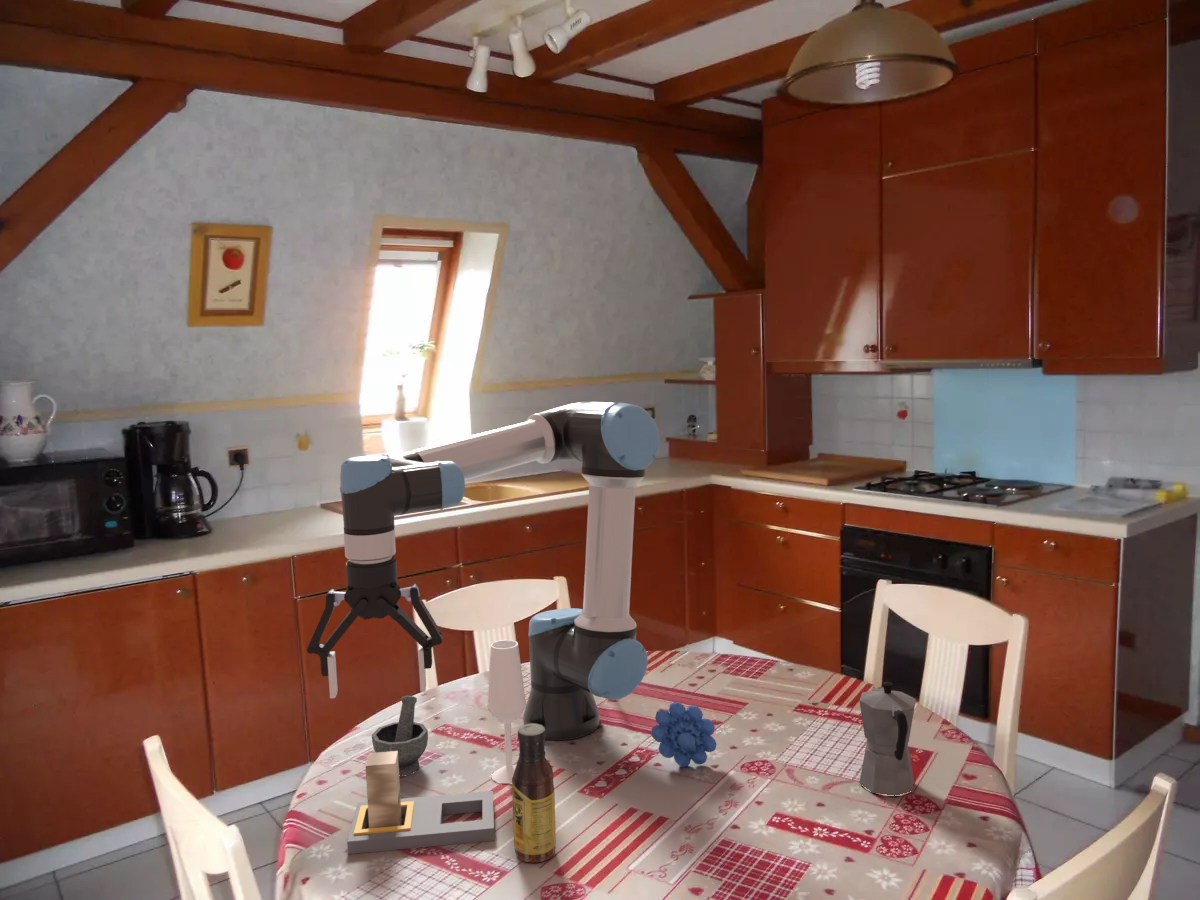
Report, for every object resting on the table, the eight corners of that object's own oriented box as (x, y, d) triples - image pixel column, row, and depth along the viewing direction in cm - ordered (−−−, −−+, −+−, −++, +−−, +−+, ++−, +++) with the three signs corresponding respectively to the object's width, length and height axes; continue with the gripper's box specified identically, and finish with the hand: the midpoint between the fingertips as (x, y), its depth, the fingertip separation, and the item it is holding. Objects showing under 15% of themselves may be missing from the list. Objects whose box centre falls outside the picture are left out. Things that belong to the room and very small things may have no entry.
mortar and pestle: (416, 783, 161) (412, 717, 160) (365, 780, 163) (362, 714, 162) (438, 754, 172) (435, 692, 171) (391, 751, 174) (387, 690, 173)
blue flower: (654, 779, 160) (653, 713, 159) (650, 761, 167) (649, 698, 166) (721, 775, 161) (720, 709, 160) (714, 758, 168) (713, 695, 166)
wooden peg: (401, 822, 148) (397, 750, 147) (399, 836, 144) (395, 763, 143) (373, 824, 148) (368, 753, 146) (369, 839, 143) (365, 765, 142)
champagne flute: (530, 782, 160) (525, 649, 158) (491, 786, 159) (485, 652, 157) (526, 765, 167) (522, 636, 164) (489, 769, 166) (484, 639, 163)
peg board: (493, 802, 154) (492, 789, 154) (494, 840, 142) (494, 826, 142) (358, 814, 151) (357, 800, 151) (347, 854, 139) (347, 839, 139)
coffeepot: (848, 767, 163) (849, 669, 161) (902, 766, 163) (903, 667, 161) (873, 811, 148) (874, 703, 146) (932, 810, 148) (934, 702, 146)
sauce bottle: (514, 844, 141) (509, 719, 139) (555, 841, 141) (551, 716, 139) (514, 868, 134) (509, 738, 132) (557, 865, 135) (552, 735, 133)
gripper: (454, 547, 146) (460, 676, 149) (291, 557, 143) (300, 688, 146) (453, 558, 139) (459, 694, 141) (281, 568, 136) (291, 707, 138)
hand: (378, 691), depth 143 cm, fingers open, 13 cm apart
